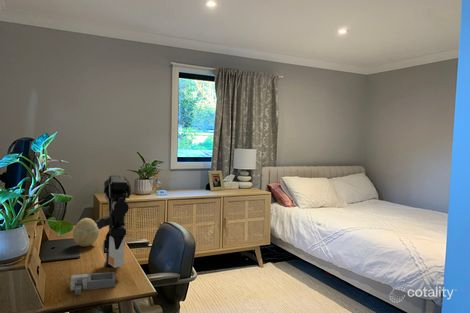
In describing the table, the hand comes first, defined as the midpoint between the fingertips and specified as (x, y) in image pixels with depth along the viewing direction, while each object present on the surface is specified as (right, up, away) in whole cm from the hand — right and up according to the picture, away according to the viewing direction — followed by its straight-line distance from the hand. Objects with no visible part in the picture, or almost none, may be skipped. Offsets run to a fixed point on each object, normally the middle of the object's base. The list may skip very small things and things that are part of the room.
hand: (116, 246), depth 145 cm
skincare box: (0, -8, 0) cm, 8 cm away
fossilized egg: (-29, -10, +37) cm, 48 cm away
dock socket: (-3, -13, -9) cm, 16 cm away
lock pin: (-9, -12, -14) cm, 21 cm away
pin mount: (-10, -12, -12) cm, 20 cm away
